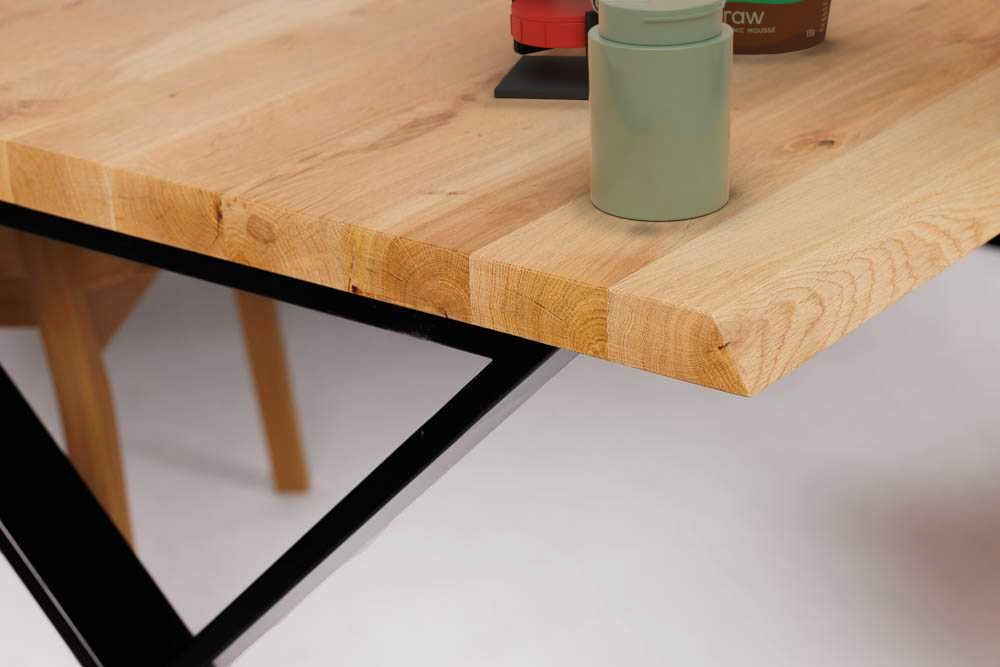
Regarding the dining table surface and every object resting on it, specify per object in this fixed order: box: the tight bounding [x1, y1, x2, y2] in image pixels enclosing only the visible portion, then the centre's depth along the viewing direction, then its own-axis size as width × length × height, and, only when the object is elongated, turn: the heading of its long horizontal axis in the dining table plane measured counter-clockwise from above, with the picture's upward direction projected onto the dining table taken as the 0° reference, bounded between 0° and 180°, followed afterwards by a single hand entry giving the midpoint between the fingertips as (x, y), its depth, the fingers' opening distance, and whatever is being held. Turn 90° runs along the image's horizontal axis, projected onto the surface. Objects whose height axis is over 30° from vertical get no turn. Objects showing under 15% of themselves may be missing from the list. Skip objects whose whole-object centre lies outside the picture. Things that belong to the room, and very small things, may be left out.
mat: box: [493, 54, 589, 100], centre depth 88 cm, size 8×8×1 cm
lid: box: [509, 0, 593, 49], centre depth 87 cm, size 7×7×2 cm
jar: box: [588, 0, 734, 222], centre depth 67 cm, size 7×7×10 cm
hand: (572, 60), depth 88 cm, fingers closed on lid, 7 cm apart
